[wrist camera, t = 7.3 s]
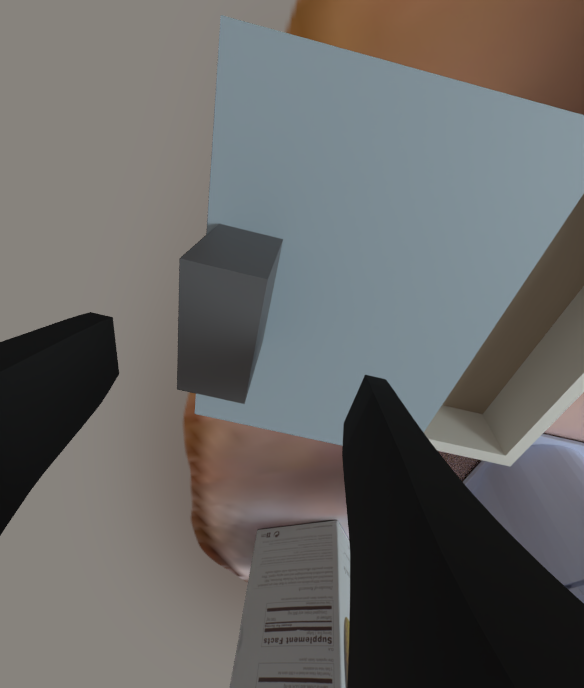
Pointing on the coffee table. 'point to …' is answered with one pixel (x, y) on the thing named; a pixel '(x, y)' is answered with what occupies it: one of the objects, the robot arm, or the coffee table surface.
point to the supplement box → (296, 610)
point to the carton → (523, 361)
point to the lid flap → (359, 230)
